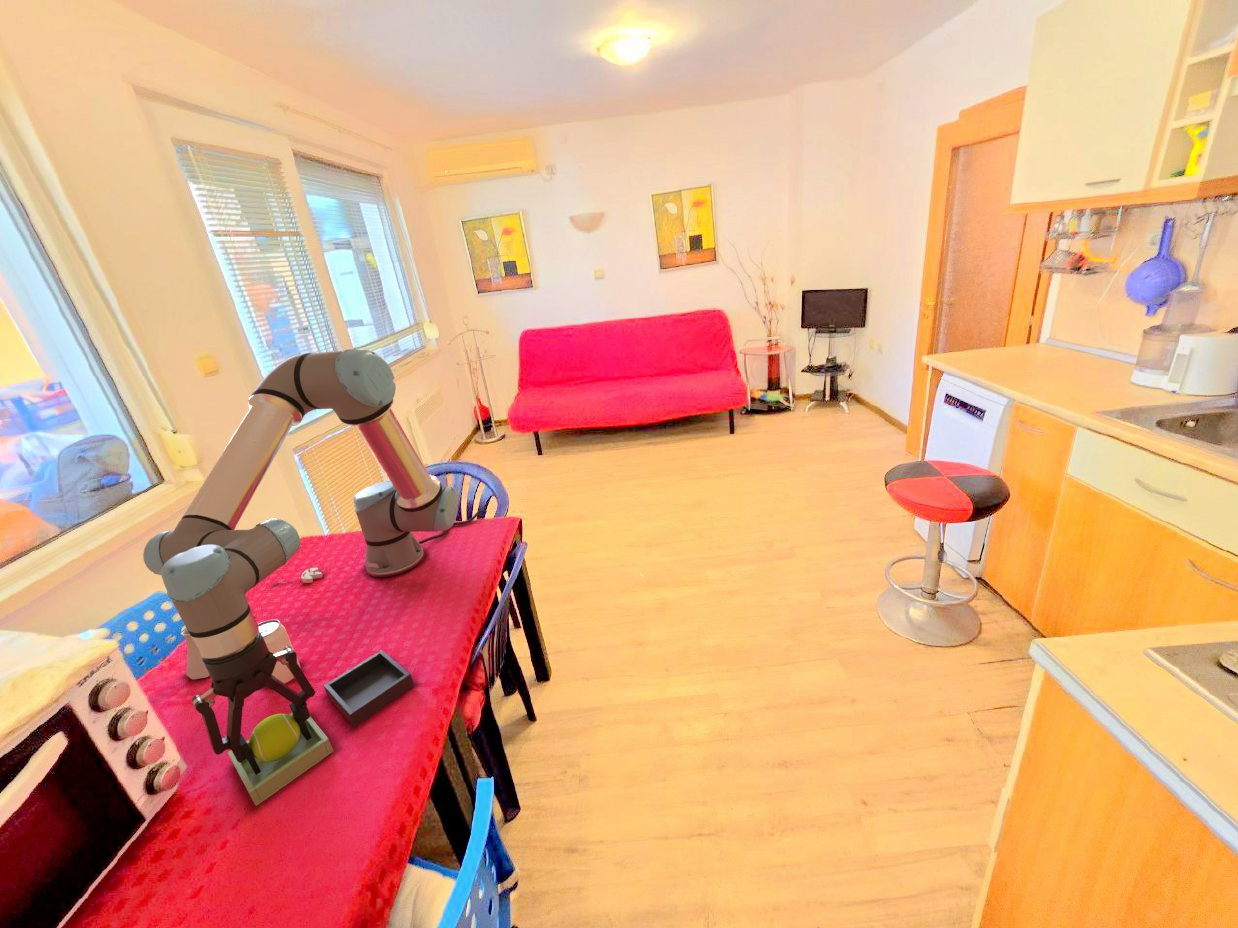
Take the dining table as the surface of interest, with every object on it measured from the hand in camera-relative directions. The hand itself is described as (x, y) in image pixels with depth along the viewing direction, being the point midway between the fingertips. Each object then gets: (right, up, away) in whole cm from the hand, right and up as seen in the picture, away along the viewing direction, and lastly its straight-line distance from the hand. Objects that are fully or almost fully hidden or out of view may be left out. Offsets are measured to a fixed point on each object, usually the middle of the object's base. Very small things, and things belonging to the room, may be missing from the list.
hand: (281, 751), depth 85 cm
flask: (-31, +5, +23) cm, 39 cm away
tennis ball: (0, 0, 0) cm, 0 cm away
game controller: (-31, +16, +53) cm, 63 cm away
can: (-12, +5, +19) cm, 23 cm away
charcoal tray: (+9, +4, +13) cm, 16 cm away
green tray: (0, -1, 0) cm, 1 cm away
